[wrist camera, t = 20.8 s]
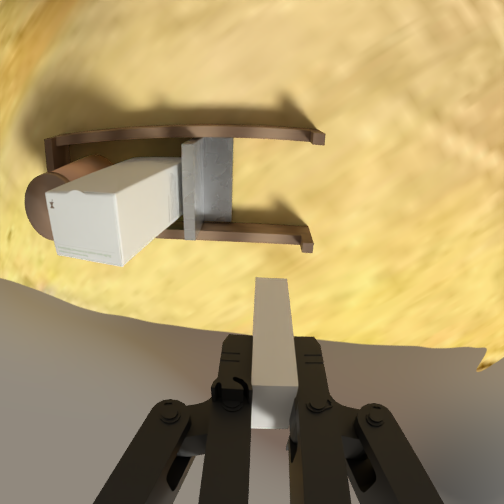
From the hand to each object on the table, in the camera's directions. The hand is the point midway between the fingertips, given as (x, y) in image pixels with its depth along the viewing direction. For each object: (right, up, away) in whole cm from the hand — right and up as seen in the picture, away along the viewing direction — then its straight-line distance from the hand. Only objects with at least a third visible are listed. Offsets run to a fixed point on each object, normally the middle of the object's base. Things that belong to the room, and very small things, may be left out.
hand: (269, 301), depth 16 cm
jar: (-22, +12, +22) cm, 33 cm away
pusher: (-5, +11, +22) cm, 25 cm away
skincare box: (-12, +11, +21) cm, 27 cm away
